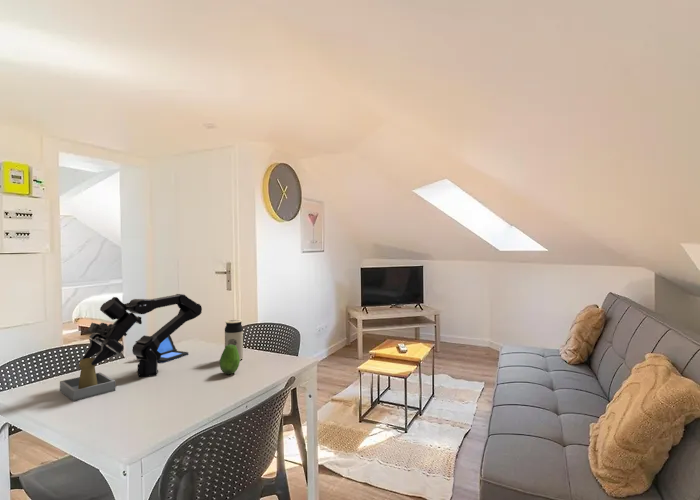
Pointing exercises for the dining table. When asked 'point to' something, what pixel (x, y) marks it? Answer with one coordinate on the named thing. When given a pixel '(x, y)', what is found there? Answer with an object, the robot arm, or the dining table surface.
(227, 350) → the avocado
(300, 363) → the dining table surface
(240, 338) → the travel mug
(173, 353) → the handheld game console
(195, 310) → the robot arm
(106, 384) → the tray
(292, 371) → the dining table surface
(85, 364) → the cork
